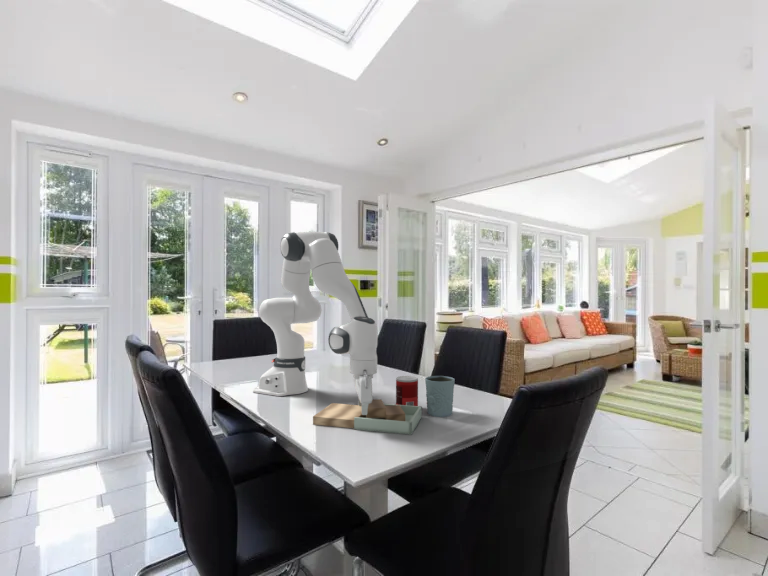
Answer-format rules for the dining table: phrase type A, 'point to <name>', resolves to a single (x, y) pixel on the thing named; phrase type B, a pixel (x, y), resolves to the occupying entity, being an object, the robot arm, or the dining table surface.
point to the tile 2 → (394, 413)
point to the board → (338, 415)
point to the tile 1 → (376, 409)
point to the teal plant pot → (439, 395)
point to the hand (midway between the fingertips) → (362, 409)
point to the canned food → (407, 390)
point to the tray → (392, 421)
